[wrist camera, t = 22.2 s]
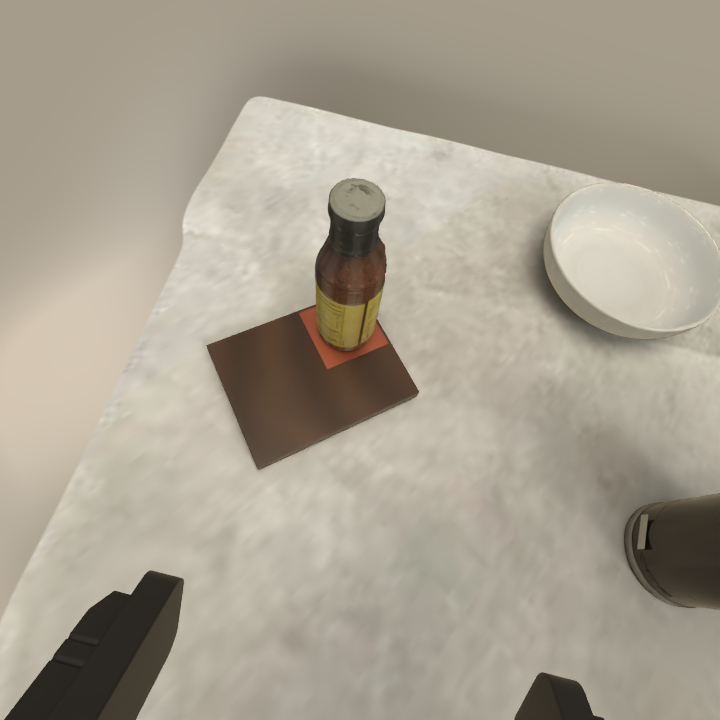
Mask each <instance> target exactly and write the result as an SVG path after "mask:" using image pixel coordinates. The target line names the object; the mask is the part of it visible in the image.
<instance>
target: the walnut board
mask: <svg viewBox="0 0 720 720" xmlns="http://www.w3.org/2000/svg"><path fill="white" fill-rule="evenodd" d="M207 348H208V351H209V353H210V356H211V358H212V360H213V363H214V365H215V368H216V370H217V372H218V375H219V377H220V380H221V382H222V384H223V387H224V389H225V392H226V394H227V396H228V399H229V401H230V404H231V406H232V408H233V411H234V413H235V416H236V418H237V421H238V423H239V425H240V428H241V430H242V433H243V435H244V437H245V440H246V442H247V445H248V447H249V449H250V452H251V454H252V457H253V459H254V461H255V464H256V466H257V468H258V470H260V469H262V468H264V467H266V466H268V465H271V464H273V463H275V462H277V461H279V460H281V459H283V458H286V457H288V456H290V455H292V454H294V453H296V452H298V451H301V450H303V449H305V448H307V447H309V446H311V445H314V444H316V443H318V442H320V441H322V440H324V439H326V438H329V437H331V436H333V435H335V434H337V433H339V432H341V431H344V430H346V429H348V428H350V427H352V426H354V425H357V424H359V423H361V422H363V421H365V420H367V419H369V418H372V417H374V416H376V415H378V414H380V413H382V412H384V411H387V410H389V409H391V408H393V407H395V406H397V405H400V404H402V403H404V402H406V401H408V400H410V399H412V398H415V397H416V396H417V395H418V393H419V391H418V389H417V387H416V386H415V384H414V382H413V380H412V379H411V377H410V375H409V373H408V372H407V370H406V368H405V367H404V365H403V363H402V361H401V360H400V358H399V356H398V354H397V353H396V351H395V349H394V348H393V346H392V344H391V342H390V341H389V339H388V337H387V335H386V334H385V332H384V330H383V329H382V327H381V325H380V323H379V322H378V320H377V319H376V324H375V328H374V331H373V333H372V335H371V337H370V338H369V340H368V342H367V343H366V344H365V345H364V346H363V347H361V348H360V349H356V350H352V351H338V350H336V349H334V348H333V347H331V346H329V345H328V344H327V343H326V342H325V341H324V340H323V339H322V337H321V336H320V333H319V329H318V326H317V314H316V305H313V306H311V307H308V308H305V309H303V310H300V311H297V312H295V313H292V314H289V315H287V316H284V317H281V318H279V319H276V320H273V321H271V322H268V323H265V324H263V325H260V326H257V327H254V328H252V329H249V330H246V331H244V332H241V333H238V334H236V335H233V336H230V337H228V338H225V339H222V340H220V341H217V342H214V343H212V344H209V345H207Z"/></svg>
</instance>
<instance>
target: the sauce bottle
mask: <svg viewBox="0 0 720 720" xmlns="http://www.w3.org/2000/svg"><path fill="white" fill-rule="evenodd" d="M328 213H329V216H330V220H331V223H330V230H329V236H328V237H327V239H326V241H325V243H324V245H323V247H322V248H321V249H320V251H319V253H318V256H317V259H316V265H315V280H316V314H317V326H318V329H319V333H320V336H321V337H322V339H323V340H324V341H325V342H326V343H327V344H328V345H329V346H331V347H333V348H334V349H336V350H338V351H352V350H356V349H360V348H361V347H363V346H364V345H365V344H366V343H367V342H368V340H369V338H370V337H371V335H372V333H373V331H374V328H375V324H376V319H377V315H378V310H379V305H380V301H381V296H382V291H383V287H384V282H385V273H386V266H387V264H386V255H385V245H384V244H383V242H382V241H381V239H380V238H379V234H378V231H379V225H380V223H381V221H382V220H383V217H384V214H385V196H384V194H383V192H382V190H381V189H380V188H379V187H378V186H377V185H375V184H374V183H372V182H370V181H367V180H364V179H356V178H352V179H345V180H343V181H341V182H339V183H337V184H336V185H335V186H334V188H333V189H332V190H331V192H330V195H329V203H328Z"/></svg>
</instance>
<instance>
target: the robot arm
mask: <svg viewBox="0 0 720 720" xmlns="http://www.w3.org/2000/svg"><path fill="white" fill-rule="evenodd" d="M625 546H626V552H627V556H628V559H629V562H630V565H631V567H632V569H633V571H634V573H635V574H636V576H637V578H638V579H639V580H640V582H641V583H642V584H643V585H644V587H645V588H646V589H647V590H648V591H649V592H651V593H652V594H653V595H654V596H656V597H657V598H659V599H660V600H662V601H664V602H666V603H668V604H671V605H674V606H678V607H687V608H697V607H699V608H708V609H716V610H720V493H717V494H711V495H705V496H700V497H694V498H689V499H683V500H676V501H671V502H660V503H654V504H649V505H646V506H643V507H642V508H640V509H639V510H637V511H636V512H635V513H634V514H633V516H632V517H631V519H630V520H629V523H628V525H627V528H626V534H625ZM183 586H184V580H183V578H179V577H175V576H171V575H167V574H163V573H159V572H155V571H148V572H147V573H146V574H145V575H144V577H143V578H142V579H141V581H140V582H139V584H138V585H137V587H136V588H135V590H134V591H133V593H132V594H131V595H129V594H125V593H121V592H117V591H113V592H112V593H111V594H109V595H108V596H106V597H105V598H104V599H102V600H101V601H100V602H98V603H97V604H95V605H94V606H93V607H91V608H90V609H89V610H88V611H87V612H86V614H85V615H84V616H83V617H82V619H81V620H80V621H79V623H78V624H77V625H76V627H75V628H74V629H73V631H72V632H71V633H70V636H69V638H68V639H66V640H65V641H64V642H63V644H62V645H61V646H60V648H59V649H58V650H57V651H56V653H55V654H54V656H53V658H52V660H51V661H49V662H48V663H47V664H46V666H45V667H44V668H43V670H42V671H41V672H40V674H39V675H38V676H37V678H36V679H35V680H34V681H33V683H32V684H31V685H30V687H29V688H28V689H27V691H26V692H25V693H24V694H23V696H22V697H21V698H20V700H19V701H18V702H17V704H16V705H15V706H14V708H13V709H12V710H11V711H10V713H9V714H8V715H7V717H6V718H5V719H4V720H136V718H137V716H138V714H139V712H140V710H141V708H142V706H143V704H144V702H145V700H146V698H147V696H148V694H149V692H150V690H151V689H152V687H153V685H154V683H155V681H156V679H157V677H158V675H159V673H160V671H161V669H162V667H163V665H164V663H165V661H166V659H167V657H168V655H169V653H170V650H171V648H172V645H173V642H174V639H175V636H176V633H177V629H178V622H179V615H180V608H181V600H182V593H183ZM515 720H604V719H603V718H601V717H597V716H594V715H593V713H592V711H591V708H590V705H589V703H588V700H587V697H586V695H585V692H584V690H583V688H582V686H581V685H580V684H579V683H578V682H577V681H574V680H570V679H566V678H562V677H559V676H555V675H551V674H547V673H539V674H538V676H537V677H536V679H535V681H534V683H533V684H532V686H531V688H530V690H529V692H528V694H527V695H526V697H525V699H524V701H523V703H522V705H521V707H520V708H519V710H518V712H517V714H516V716H515Z"/></svg>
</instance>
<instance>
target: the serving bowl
mask: <svg viewBox="0 0 720 720" xmlns="http://www.w3.org/2000/svg"><path fill="white" fill-rule="evenodd" d="M544 262H545V267H546V271H547V274H548V277H549V279H550V281H551V284H552V285H553V287H554V289H555V291H556V292H557V294H558V295H559V296H560V298H561V299H562V300H563V302H564V303H565V304H566V305H567V306H568V307H569V308H570V309H571V310H572V311H573V312H574V313H576V314H577V315H578V316H579V317H581V318H582V319H583V320H585V321H586V322H588V323H590V324H591V325H593V326H595V327H597V328H599V329H601V330H604V331H606V332H609V333H612V334H615V335H618V336H622V337H628V338H635V339H657V338H664V337H669V336H673V335H677V334H680V333H683V332H685V331H688V330H690V329H692V328H695V327H697V326H699V325H701V324H702V323H704V322H705V321H707V320H708V319H709V318H710V317H712V316H713V315H714V314H715V312H716V311H717V310H718V309H719V307H720V251H719V249H718V247H717V245H716V243H715V241H714V240H713V238H712V237H711V235H710V234H709V233H708V231H707V230H706V229H705V228H704V227H703V226H702V224H701V223H700V222H699V221H698V220H697V219H696V218H694V217H693V216H692V215H691V214H690V213H689V212H687V211H686V210H685V209H684V208H682V207H681V206H679V205H678V204H676V203H675V202H673V201H671V200H670V199H668V198H666V197H664V196H662V195H660V194H658V193H656V192H653V191H651V190H648V189H645V188H642V187H638V186H634V185H629V184H623V183H598V184H593V185H589V186H586V187H583V188H580V189H578V190H576V191H574V192H573V193H571V194H570V195H568V196H567V197H566V198H565V199H564V200H563V201H562V202H561V203H560V204H559V205H558V207H557V208H556V210H555V212H554V214H553V216H552V218H551V220H550V223H549V225H548V228H547V231H546V235H545V240H544Z"/></svg>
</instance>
